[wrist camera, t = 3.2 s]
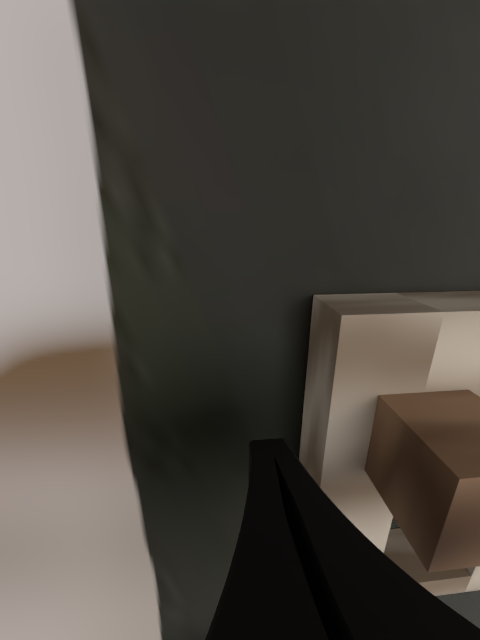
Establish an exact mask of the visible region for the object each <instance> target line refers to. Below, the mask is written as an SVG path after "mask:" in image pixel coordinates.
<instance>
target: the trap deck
mask: <svg viewBox="0 0 480 640" xmlns="http://www.w3.org/2000/svg"><path fill="white" fill-rule="evenodd" d="M453 390H470V391H472V392H473V393H475V394H476V395H478V396H479V397H480V291H447V292H408V293H369V294H330V295H313V305H312V317H311V328H310V339H309V351H308V362H307V373H306V385H305V396H304V407H303V419H302V430H301V441H300V453H299V461H300V462H301V463H302V465H303V466H304V467H305V469H306V470H307V471H308V473H309V474H310V475H311V477H312V478H313V479H314V480H315V482H316V483H317V484H318V485H319V487H320V488H321V489H322V490H323V491H324V493H325V494H326V495H327V496H328V497H329V498H330V499H331V501H332V502H333V503H334V504H335V505H336V506H337V507H338V509H339V510H340V511H341V512H342V513H343V514H344V515H345V516H346V517H347V518H348V519H349V520H350V521H351V522H352V523H353V524H354V525H355V526H356V527H357V528H358V529H359V530H360V531H361V532H362V533H363V534H364V535H365V536H366V537H367V538H368V539H369V540H370V541H371V542H372V543H373V544H374V545H375V546H376V547H377V548H378V549H380V550H381V551H382V552H383V553H384V554H385V555H386V556H388V557H389V558H390V559H391V560H392V561H393V562H394V563H396V564H397V565H398V566H399V567H400V568H401V569H403V570H404V571H405V572H406V573H407V574H408V575H410V576H411V577H412V578H413V579H414V580H415V581H417V582H418V583H419V584H420V585H422V586H423V587H424V588H425V589H427V590H428V591H429V592H430V593H432V594H433V595H434V596H438V595H445V594H453V593H461V592H468V591H476V590H480V566H477V567H469V568H461V569H453V570H445V571H437V572H429V573H428V572H427V570H426V569H425V567H424V566H423V564H422V562H421V561H420V559H419V558H418V556H417V554H416V553H415V551H414V549H413V548H412V546H411V545H410V543H409V541H408V540H407V538H406V536H405V535H404V533H403V532H402V530H401V528H396V529H390V526H391V522H392V518H393V515H392V514H391V512H390V511H389V509H388V507H387V506H386V504H385V502H384V501H383V499H382V498H381V496H380V494H379V493H378V491H377V490H376V488H375V486H374V485H373V483H372V481H371V480H370V478H369V477H368V475H367V473H366V472H365V470H364V469H365V464H366V459H367V454H368V448H369V443H370V438H371V433H372V427H373V422H374V417H375V412H376V406H377V401H378V396H379V395H387V394H403V393H420V392H436V391H453Z"/></svg>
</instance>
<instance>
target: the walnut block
mask: <svg viewBox="0 0 480 640" xmlns="http://www.w3.org/2000/svg"><path fill="white" fill-rule="evenodd" d="M364 470H365V472H366V473H367V475H368V477H369V478H370V480H371V481H372V483H373V485H374V486H375V488H376V490H377V491H378V493H379V494H380V496H381V498H382V499H383V501H384V502H385V504H386V506H387V507H388V509H389V511H390V512H391V514H392V515H393V517H394V519H395V520H396V522H397V524H398V525H399V527H400V528H401V530H402V532H403V533H404V535H405V536H406V538H407V540H408V541H409V543H410V545H411V546H412V548H413V549H414V551H415V553H416V554H417V556H418V558H419V559H420V561H421V562H422V564H423V566H424V567H425V569H426V570H427V572H428V573H429V572H437V571H445V570H453V569H461V568H469V567H477V566H480V397H479V396H478V395H476V394H475V393H473V392H472V391H470V390H453V391H436V392H420V393H403V394H387V395H379V396H378V401H377V406H376V412H375V417H374V422H373V427H372V433H371V438H370V443H369V448H368V454H367V459H366V464H365V469H364Z"/></svg>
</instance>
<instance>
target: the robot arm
mask: <svg viewBox="0 0 480 640" xmlns="http://www.w3.org/2000/svg"><path fill="white" fill-rule="evenodd" d="M205 640H480V629H479V628H478V627H476V626H475V625H474V624H472V623H471V622H469V621H468V620H467V619H465V618H464V617H463V616H461V615H460V614H458V613H457V612H456V611H454V610H453V609H451V608H450V607H449V606H447V605H446V604H445V603H443V602H442V601H441V600H439V599H438V598H437V597H435V596H434V595H433V594H432V593H430V592H429V591H428V590H427V589H425V588H424V587H423V586H422V585H420V584H419V583H418V582H417V581H415V580H414V579H413V578H412V577H411V576H410V575H408V574H407V573H406V572H405V571H404V570H403V569H401V568H400V567H399V566H398V565H397V564H396V563H394V562H393V561H392V560H391V559H390V558H389V557H388V556H386V555H385V554H384V553H383V552H382V551H381V550H380V549H378V548H377V547H376V546H375V545H374V544H373V543H372V542H371V541H370V540H369V539H368V538H367V537H366V536H365V535H364V534H363V533H362V532H361V531H360V530H359V529H358V528H357V527H356V526H355V525H354V524H353V523H352V522H351V521H350V520H349V519H348V518H347V517H346V516H345V515H344V514H343V513H342V512H341V511H340V510H339V509H338V507H337V506H336V505H335V504H334V503H333V502H332V501H331V499H330V498H329V497H328V496H327V495H326V494H325V493H324V491H323V490H322V489H321V488H320V487H319V485H318V484H317V483H316V482H315V480H314V479H313V478H312V477H311V475H310V474H309V473H308V471H307V470H306V469H305V467H304V466H303V465H302V463H301V462H300V461H299V459H298V458H297V456H296V455H295V454H294V452H293V451H292V449H291V448H290V446H289V445H288V443H287V442H286V440H285V439H283V438H280V439H266V440H253V441H251V442H250V443H249V487H248V494H247V499H246V505H245V510H244V516H243V520H242V525H241V529H240V533H239V537H238V541H237V545H236V549H235V552H234V556H233V559H232V563H231V566H230V570H229V573H228V576H227V579H226V582H225V586H224V589H223V591H222V594H221V597H220V600H219V603H218V606H217V609H216V612H215V615H214V618H213V621H212V623H211V626H210V629H209V631H208V634H207V637H206V639H205Z"/></svg>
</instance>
